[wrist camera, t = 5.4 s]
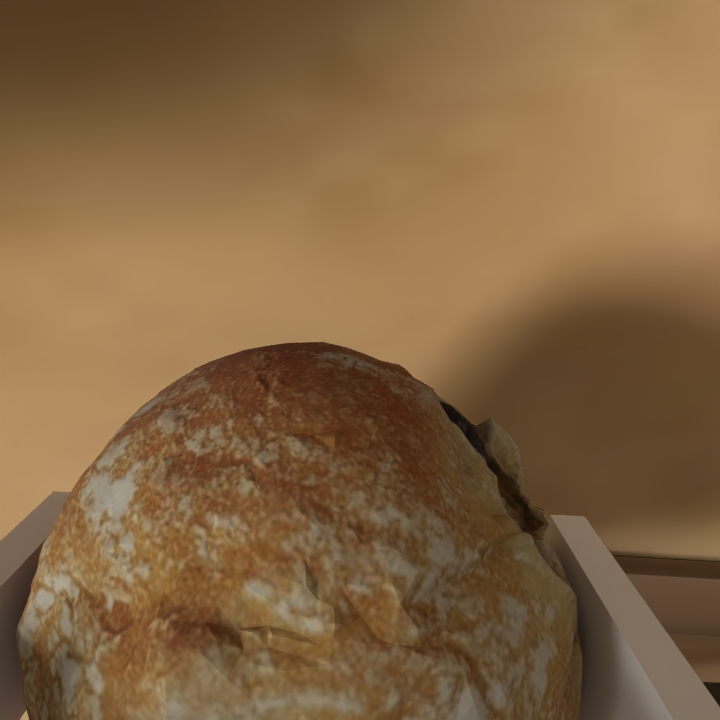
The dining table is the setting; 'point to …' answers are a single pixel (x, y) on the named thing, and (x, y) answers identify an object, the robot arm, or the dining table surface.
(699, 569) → the display stand
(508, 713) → the bread roll
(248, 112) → the dining table surface
